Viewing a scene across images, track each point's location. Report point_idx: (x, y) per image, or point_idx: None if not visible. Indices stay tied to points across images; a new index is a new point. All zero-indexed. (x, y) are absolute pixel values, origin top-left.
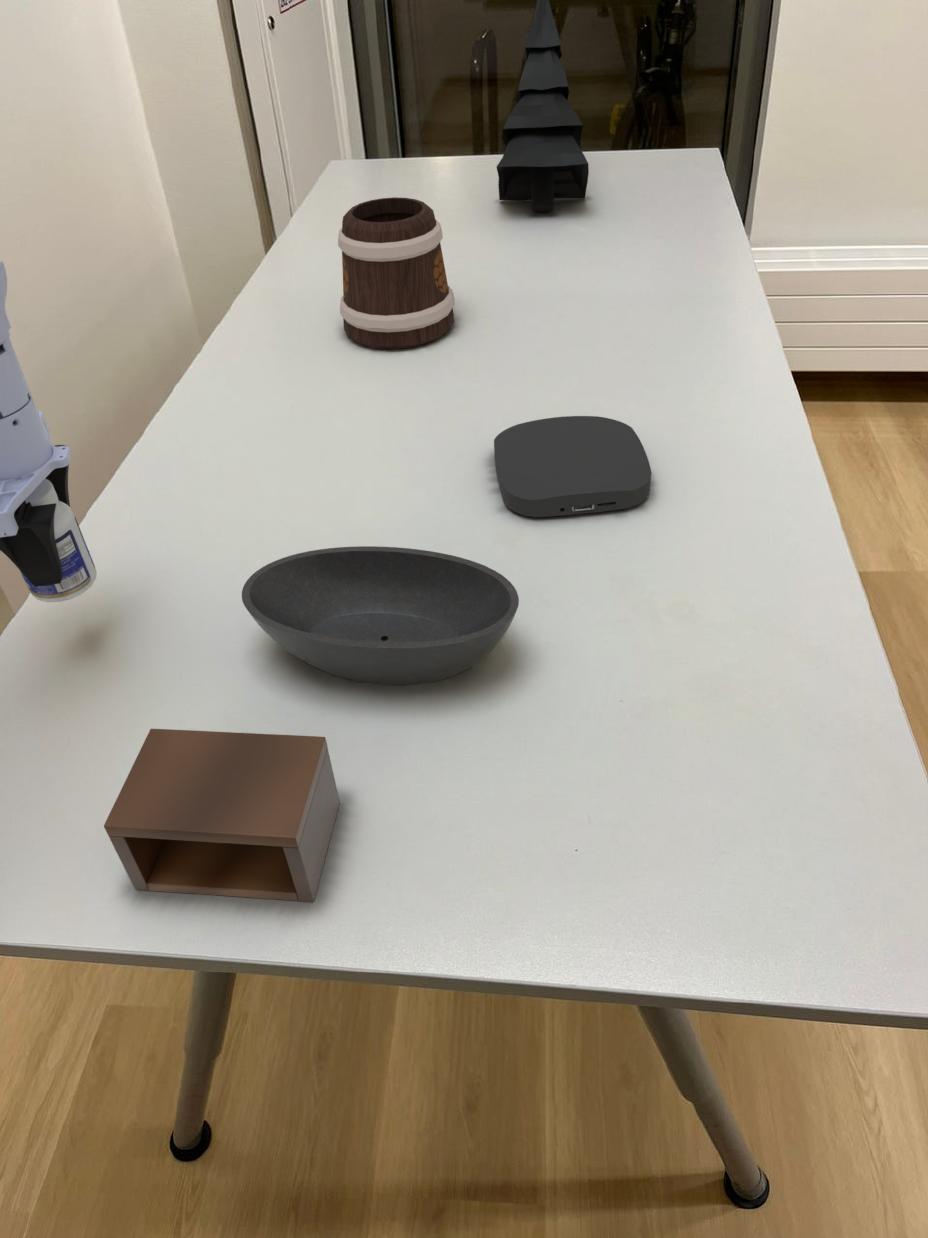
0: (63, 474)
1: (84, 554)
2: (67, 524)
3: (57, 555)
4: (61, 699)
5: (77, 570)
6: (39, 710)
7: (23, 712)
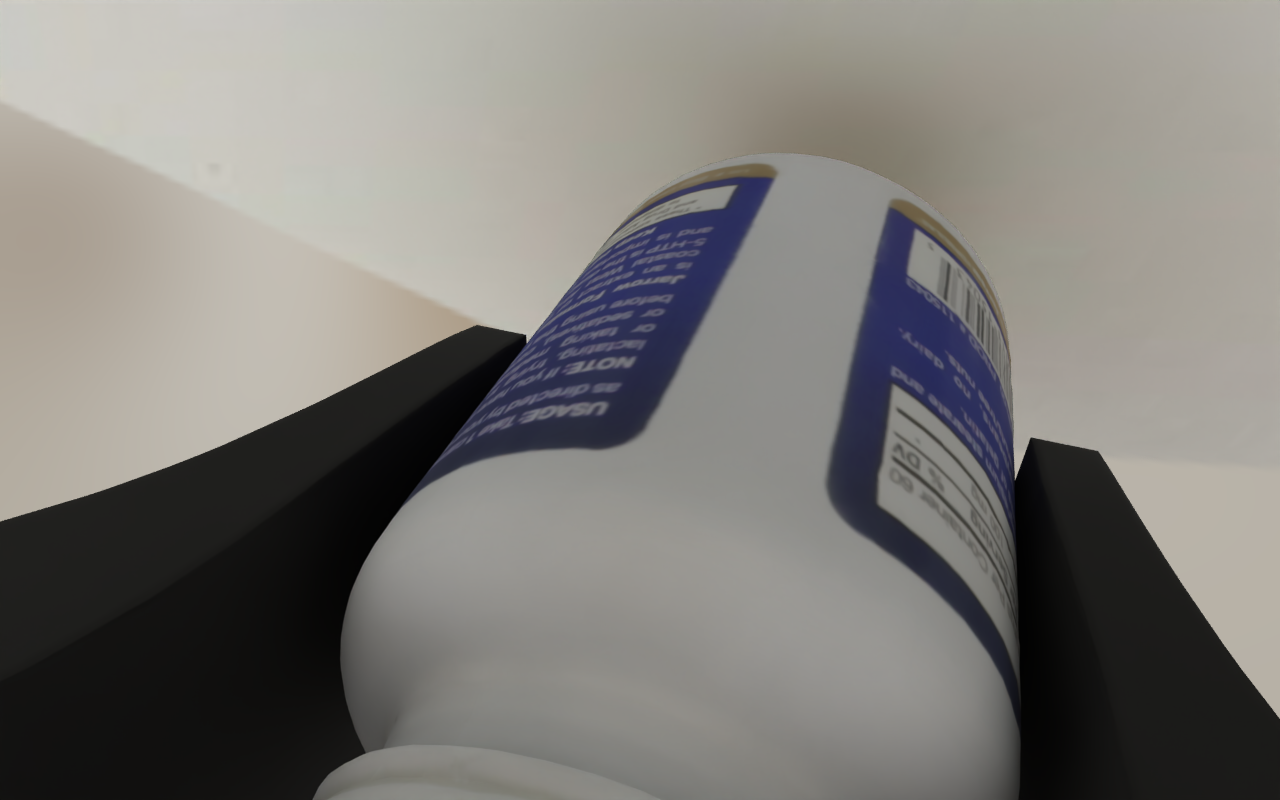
0: (11, 700)
1: (828, 276)
2: (824, 572)
3: (1131, 600)
4: (1205, 288)
5: (951, 322)
6: (1224, 370)
7: (1194, 422)
